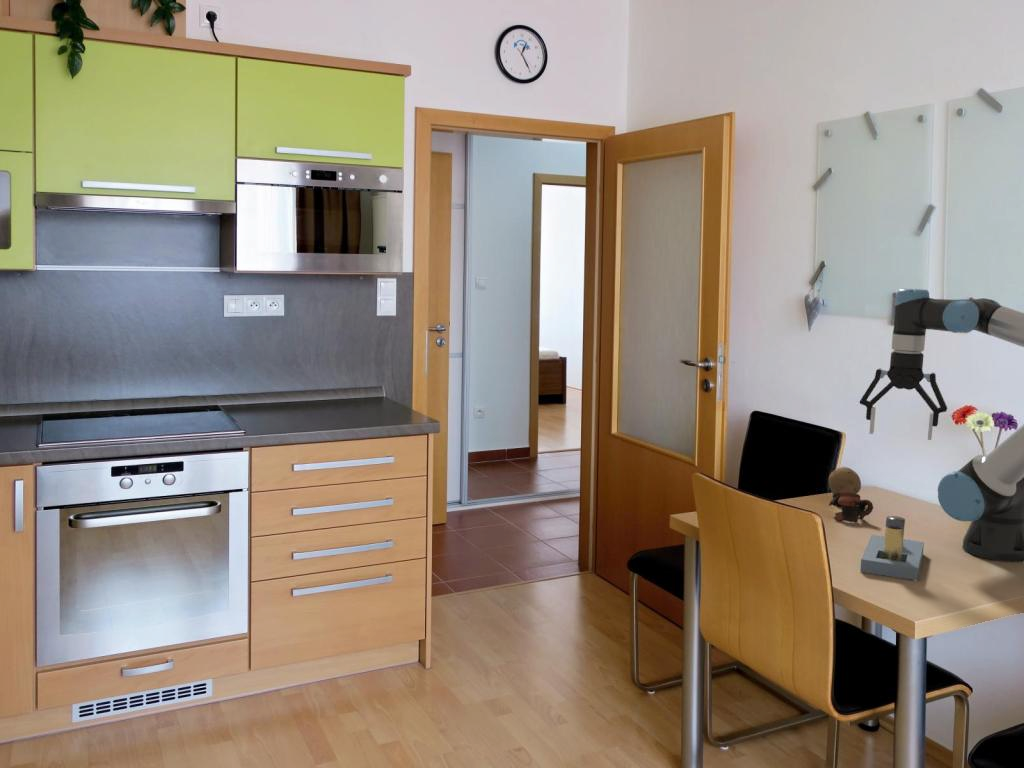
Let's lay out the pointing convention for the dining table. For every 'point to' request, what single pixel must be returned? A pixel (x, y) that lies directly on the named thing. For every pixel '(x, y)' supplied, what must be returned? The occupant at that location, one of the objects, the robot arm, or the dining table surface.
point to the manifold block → (878, 565)
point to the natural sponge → (844, 481)
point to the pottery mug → (850, 506)
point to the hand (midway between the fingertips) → (900, 436)
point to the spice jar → (893, 538)
